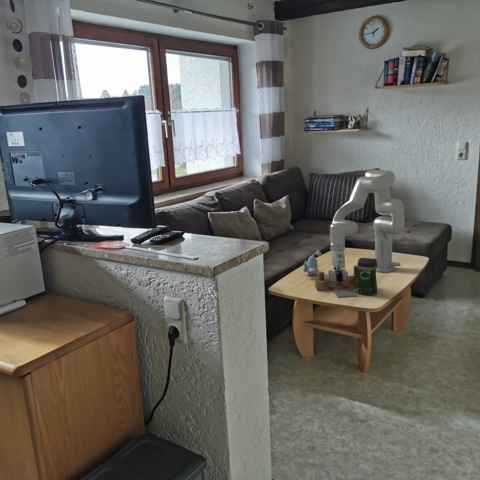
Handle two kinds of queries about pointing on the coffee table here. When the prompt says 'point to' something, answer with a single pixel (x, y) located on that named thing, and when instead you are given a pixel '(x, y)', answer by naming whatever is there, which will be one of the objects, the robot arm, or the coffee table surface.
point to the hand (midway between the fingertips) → (338, 278)
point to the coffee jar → (367, 276)
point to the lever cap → (334, 274)
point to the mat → (345, 293)
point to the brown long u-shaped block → (336, 282)
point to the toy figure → (311, 264)
